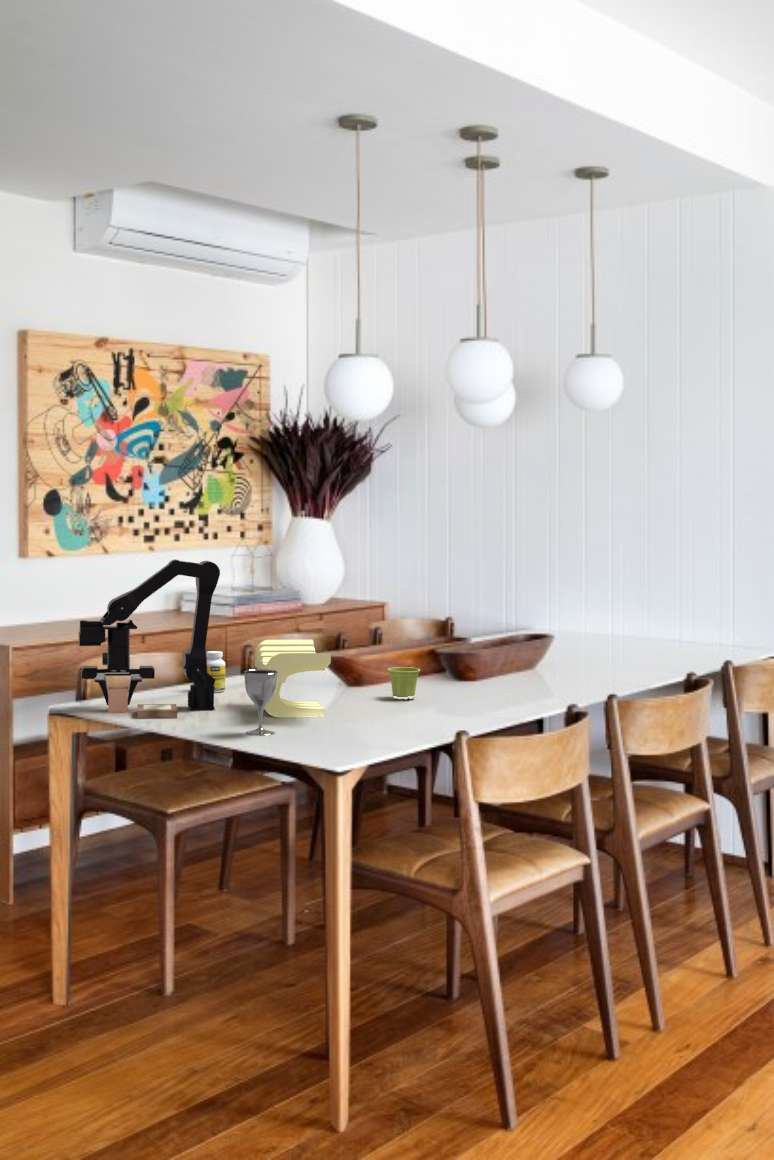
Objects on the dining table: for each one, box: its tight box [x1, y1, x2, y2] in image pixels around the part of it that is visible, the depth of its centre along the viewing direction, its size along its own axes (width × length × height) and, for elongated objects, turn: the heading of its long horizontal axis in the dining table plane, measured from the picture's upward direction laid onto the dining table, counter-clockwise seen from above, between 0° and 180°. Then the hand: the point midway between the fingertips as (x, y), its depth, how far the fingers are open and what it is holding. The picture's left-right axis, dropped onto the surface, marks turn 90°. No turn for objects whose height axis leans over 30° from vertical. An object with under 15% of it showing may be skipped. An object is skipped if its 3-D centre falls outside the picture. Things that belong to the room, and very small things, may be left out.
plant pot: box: [387, 666, 421, 697], centre depth 371 cm, size 9×9×9 cm
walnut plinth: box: [136, 703, 178, 719], centre depth 336 cm, size 10×10×2 cm
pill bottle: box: [206, 650, 226, 694], centre depth 377 cm, size 6×6×12 cm
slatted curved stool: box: [254, 639, 332, 718], centre depth 343 cm, size 30×16×18 cm, turn 12°
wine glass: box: [244, 668, 278, 737], centre depth 313 cm, size 8×8×15 cm
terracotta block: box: [107, 686, 129, 713], centre depth 341 cm, size 5×5×6 cm
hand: (118, 704), depth 341 cm, fingers closed on terracotta block, 5 cm apart
